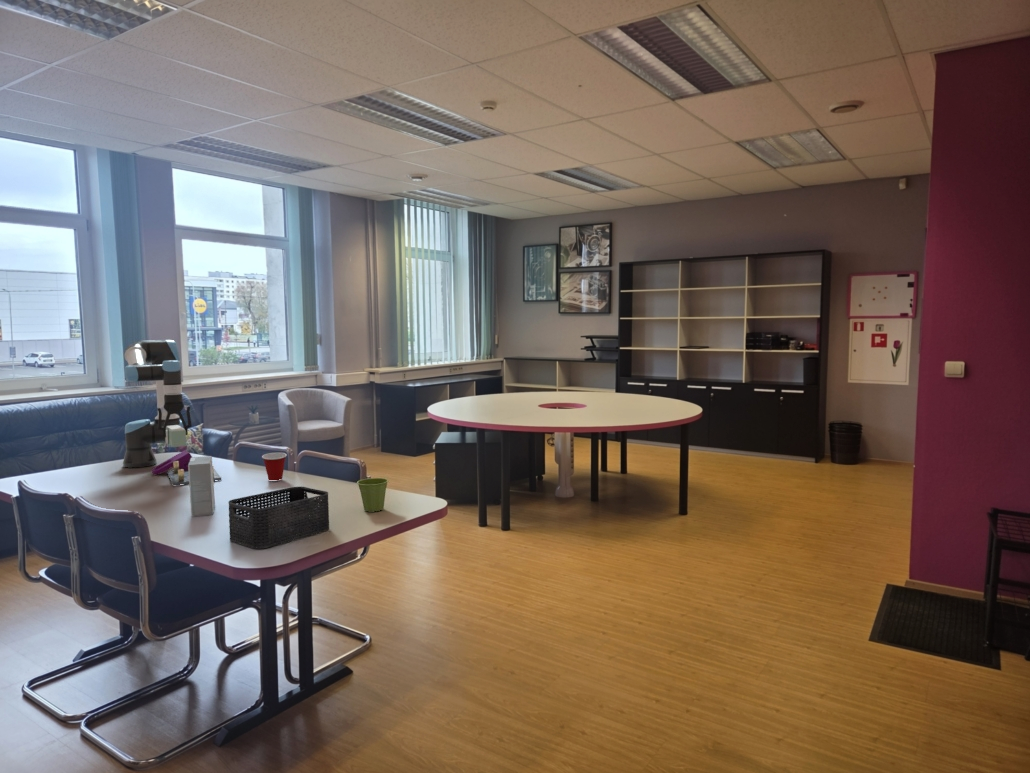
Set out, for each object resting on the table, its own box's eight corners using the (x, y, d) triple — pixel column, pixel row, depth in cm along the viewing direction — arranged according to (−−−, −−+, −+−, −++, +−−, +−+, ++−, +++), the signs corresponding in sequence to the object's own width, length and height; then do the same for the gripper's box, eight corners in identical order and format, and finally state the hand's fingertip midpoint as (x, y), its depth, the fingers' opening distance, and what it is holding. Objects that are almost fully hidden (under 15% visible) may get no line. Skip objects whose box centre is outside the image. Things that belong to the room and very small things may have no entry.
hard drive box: (193, 507, 262) (191, 457, 260) (215, 505, 264) (212, 455, 263) (190, 517, 247) (187, 464, 246) (213, 515, 250) (210, 462, 248)
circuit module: (165, 442, 315) (164, 425, 314) (179, 441, 319) (178, 424, 318) (171, 447, 302) (170, 429, 302) (186, 445, 306) (185, 428, 305)
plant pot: (389, 505, 261) (388, 476, 260) (389, 513, 250) (389, 483, 249) (358, 507, 259) (357, 478, 258) (357, 515, 247) (356, 485, 246)
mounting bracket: (162, 487, 322) (198, 466, 332) (153, 472, 319) (189, 452, 329) (159, 483, 330) (193, 463, 339) (149, 469, 327) (184, 450, 336)
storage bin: (299, 520, 242) (298, 484, 241) (334, 529, 230) (332, 491, 229) (225, 541, 219) (223, 501, 218) (259, 552, 207) (257, 510, 206)
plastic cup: (261, 483, 301) (260, 457, 300) (264, 478, 311) (263, 453, 310) (286, 482, 303) (285, 456, 302) (288, 477, 314) (287, 452, 313)
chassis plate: (167, 474, 323) (166, 461, 322) (212, 469, 333) (211, 456, 333) (173, 486, 298) (172, 472, 297) (221, 480, 308) (220, 466, 308)
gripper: (149, 395, 300) (152, 446, 302) (196, 393, 310) (199, 442, 312) (149, 394, 307) (152, 444, 309) (195, 392, 317) (198, 440, 318)
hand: (175, 443), depth 310 cm, fingers closed on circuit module, 6 cm apart
